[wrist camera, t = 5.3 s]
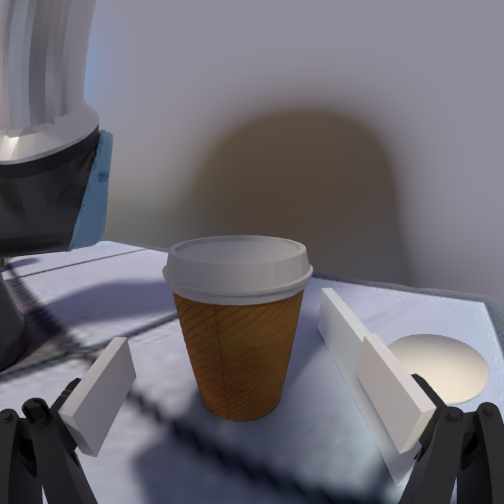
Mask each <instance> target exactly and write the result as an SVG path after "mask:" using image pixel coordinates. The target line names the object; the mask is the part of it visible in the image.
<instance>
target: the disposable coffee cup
mask: <svg viewBox="0 0 504 504" xmlns="http://www.w3.org/2000/svg"><path fill="white" fill-rule="evenodd" d="M162 272H163V275H164V279H165V280H166V281H167V282H168V286H169V288H170V289H171V290H172V292H173V295H174V301H175V304H176V309H177V312H178V317H179V320H180V325H181V328H182V333H183V336H184V341H185V343H186V348H187V351H188V355H189V358H190V362H191V365H192V369H193V371H194V375H195V378H196V382H197V384H198V388H199V391H200V394H201V397H202V401H203V404H204V405H205V407H206V408H207V409H208V410H209V411H211V412H212V413H213V414H215V415H217V416H219V417H221V418H224V419H229V420H235V421H246V420H253V419H257V418H260V417H262V416H264V415H267V414H268V413H269V412H271V411H272V410H273V409H274V408H275V407H276V406H277V404H278V402H279V401H280V396H281V392H282V388H283V384H284V380H285V376H286V371H287V367H288V364H289V359H290V354H291V350H292V345H293V341H294V336H295V332H296V327H297V322H298V317H299V312H300V307H301V301H302V297H303V291H304V289H305V287H306V285H307V284H308V279H309V278H310V277H311V276H312V273H313V267H312V265H311V264H310V263H309V262H308V257H307V252H306V247H305V246H304V245H303V244H301V243H298V242H295V241H292V240H288V239H282V238H276V237H267V236H216V237H206V238H199V239H193V240H189V241H184V242H181V243H178V244H175V245H174V246H172V247H171V248H170V249H169V253H168V260H167V265H166V266H165V267H164V268H163V271H162Z"/></svg>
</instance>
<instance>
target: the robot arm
mask: <svg viewBox="0 0 504 504" xmlns="http://www.w3.org/2000/svg"><path fill="white" fill-rule="evenodd" d="M95 4H96V0H0V258H8V257H17V256H26V255H35V254H44V253H54V252H64V251H66V252H70V251H71V250H72V249H78V248H83V247H88V246H93V245H95V244H96V243H98V242H99V241H100V240H101V239H102V237H103V235H104V232H105V223H106V212H107V198H108V185H109V181H108V179H109V172H110V165H111V155H112V145H113V135H112V133H110V132H106V131H105V130H100V131H99V132H98V130H99V129H98V128H99V116H98V113H97V112H96V111H95V110H94V109H93V108H92V107H91V106H89V105H88V104H87V103H86V102H85V101H84V99H83V95H84V78H85V67H86V57H87V49H88V41H89V35H90V29H91V24H92V18H93V13H94V8H95ZM29 339H30V335H29V331H28V328H27V325H26V321H25V319H24V316H23V315H22V313H21V312H20V311H19V310H18V308H17V306H16V304H15V302H14V300H13V298H12V296H11V294H10V292H9V290H8V288H7V286H6V284H5V282H4V280H3V277H2V272H1V267H0V370H2V369H3V368H5V367H7V366H8V365H10V364H11V363H12V362H13V361H15V360H16V359H17V358H18V357H19V356H20V355H21V354H22V353H23V351H24V350H25V349H26V347H27V345H28V343H29ZM356 375H357V377H358V378H359V380H360V382H361V384H362V385H363V387H364V389H365V391H366V392H367V394H368V396H369V398H370V400H371V401H372V403H373V405H374V407H375V409H376V410H377V412H378V414H379V416H380V418H381V419H382V421H383V423H384V425H385V427H386V429H387V431H388V432H389V434H390V436H391V438H392V440H393V442H394V444H395V445H396V447H397V449H398V451H399V453H403V452H406V451H409V450H412V449H414V448H415V446H416V444H417V443H418V441H419V442H420V444H421V445H422V446H421V448H420V450H419V451H418V453H417V454H416V456H415V457H414V459H413V460H416V461H415V464H414V467H413V470H412V472H411V475H410V478H409V480H408V483H407V485H406V488H405V490H404V492H403V495H402V497H401V499H400V501H399V503H398V504H449V503H450V499H451V496H452V492H453V488H454V484H455V480H456V476H457V504H504V423H503V420H502V417H501V414H500V411H499V409H498V407H497V406H496V405H495V404H493V403H490V402H484V403H481V404H480V405H479V407H478V408H477V410H476V411H475V412H467V413H464V412H463V411H462V410H461V409H459V408H457V407H451V406H449V407H448V406H447V405H446V404H445V403H444V402H443V400H442V399H441V398H440V397H439V396H438V394H437V393H436V392H435V391H434V390H433V388H432V387H431V386H430V385H429V384H428V382H427V381H426V380H425V379H424V378H423V377H421V376H419V375H418V374H411V375H410V374H409V373H408V371H407V370H406V369H405V368H404V366H403V365H402V364H401V363H400V362H399V360H398V359H397V358H396V357H395V356H394V354H393V353H392V352H391V351H390V350H389V348H388V347H387V346H386V345H385V344H384V343H383V341H382V340H381V339H380V338H379V337H378V335H377V334H370V335H364V339H363V344H362V349H361V354H360V359H359V363H358V368H357V372H356ZM135 378H136V373H135V369H134V365H133V361H132V357H131V353H130V349H129V345H128V340H127V338H125V337H114V339H113V340H112V341H111V342H110V344H109V345H108V346H107V347H106V349H105V350H104V351H103V352H102V354H101V355H100V356H99V358H98V359H97V360H96V361H95V363H94V364H93V365H92V367H91V368H90V369H89V370H88V372H87V373H86V374H85V376H84V377H83V378H82V379H80V378H76V379H75V380H73V381H72V382H70V383H69V384H68V386H67V387H66V388H65V391H63V392H62V393H61V395H60V396H59V397H58V398H57V400H56V401H55V402H54V404H53V405H52V406H51V408H50V409H49V407H48V405H47V404H46V402H45V401H44V400H43V399H41V398H32V399H29V400H27V401H26V402H25V403H24V404H23V406H22V411H23V413H24V415H25V416H26V418H20V417H19V416H18V414H17V412H16V411H15V410H13V409H4V410H2V411H1V412H0V504H43V498H42V486H43V489H44V493H45V496H46V499H47V502H48V504H98V503H97V501H96V499H95V497H94V494H93V492H92V490H91V488H90V486H89V484H88V481H87V479H86V477H85V474H84V472H83V469H82V467H81V464H80V462H79V459H78V456H77V454H76V453H75V449H76V447H77V446H78V447H79V449H80V451H81V452H82V453H83V454H86V455H89V456H93V457H97V455H98V452H99V450H100V448H101V446H102V444H103V442H104V440H105V438H106V436H107V434H108V432H109V429H110V427H111V425H112V423H113V421H114V419H115V417H116V415H117V413H118V411H119V409H120V407H121V405H122V403H123V401H124V399H125V398H126V396H127V394H128V392H129V390H130V388H131V386H132V384H133V382H134V380H135Z"/></svg>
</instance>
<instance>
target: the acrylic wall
mask: <svg viewBox="0 0 504 504" xmlns="http://www.w3.org/2000/svg"><path fill="white" fill-rule="evenodd" d="M318 330H319V332H320V333H321V335H322V337H323V339H324V341H325V343H326V345H327V347H328V349H329V351H330V353H331V355H332V357H333V359H334V361H335V362H336V364H337V366H338V368H339V370H340V372H341V374H342V376H343V378H344V380H345V382H346V384H347V386H348V388H349V390H350V392H351V394H352V396H353V398H354V400H355V402H356V404H357V406H358V408H359V410H360V412H361V414H362V416H363V418H364V420H365V422H366V424H367V426H368V428H369V431H370V433H371V435H372V437H373V439H374V441H375V443H376V445H377V447H378V449H379V451H380V453H381V455H382V458H383V460H384V462H385V464H386V466H387V468H388V470H389V472H390V475H391V477H392V479H393V481H394V483H395V485H396V487H398V486H401V485H403V484H406V483H408V480H409V478H410V475H411V472H412V470H413V467H414V464H415V461H416V460H413V459H414V457H415V456H416V454H417V453H418V451H419V450H420V448H421V446H422V445H421V444H420V442H419V441H418V443H417V444H416V446H415V448H414V449H412V450H409V451H406V452H403V453H399V451H398V449H397V447H396V445H395V444H394V442H393V440H392V438H391V436H390V434H389V432H388V431H387V429H386V427H385V425H384V423H383V421H382V419H381V418H380V416H379V414H378V412H377V410H376V409H375V407H374V405H373V403H372V401H371V400H370V398H369V396H368V394H367V392H366V391H365V389H364V387H363V385H362V384H361V382H360V380H359V378H358V377H357V375H356V372H357V368H358V363H359V359H360V354H361V349H362V344H363V339H364V335H370V334H371V333H370V332H369V331H368V330H367V329H366V327H365V326H364V325H363V324H362V323H361V321H360V320H359V319H358V318H357V317H356V316H355V314H354V313H353V312H352V311H351V310H350V309H349V307H348V306H347V305H346V304H345V303H344V302H343V300H342V299H341V298H340V297H339V296H338V295H337V294H336V292H335V291H334V290H333V289H332V288H321V298H320V310H319V320H318Z"/></svg>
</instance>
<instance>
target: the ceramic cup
mask: <svg viewBox="0 0 504 504" xmlns="http://www.w3.org/2000/svg"><path fill="white" fill-rule="evenodd" d="M0 267H1V272H2V271H4V269H5V267H4V258H0Z"/></svg>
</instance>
